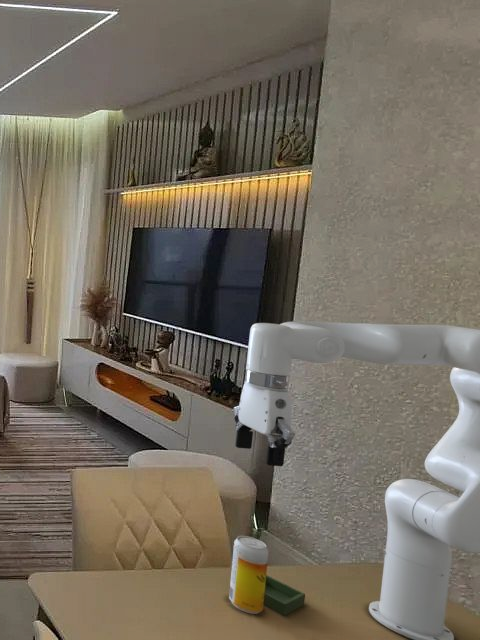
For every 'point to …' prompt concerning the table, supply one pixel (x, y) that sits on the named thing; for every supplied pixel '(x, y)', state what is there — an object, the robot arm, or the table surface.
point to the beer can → (248, 574)
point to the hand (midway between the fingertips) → (258, 456)
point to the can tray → (282, 596)
